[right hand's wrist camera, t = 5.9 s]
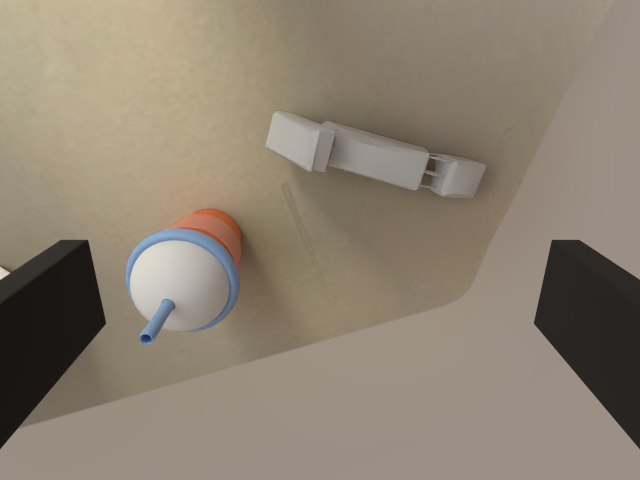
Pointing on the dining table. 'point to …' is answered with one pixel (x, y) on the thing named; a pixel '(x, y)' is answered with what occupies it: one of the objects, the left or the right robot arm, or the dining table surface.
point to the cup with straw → (186, 274)
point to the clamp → (370, 156)
